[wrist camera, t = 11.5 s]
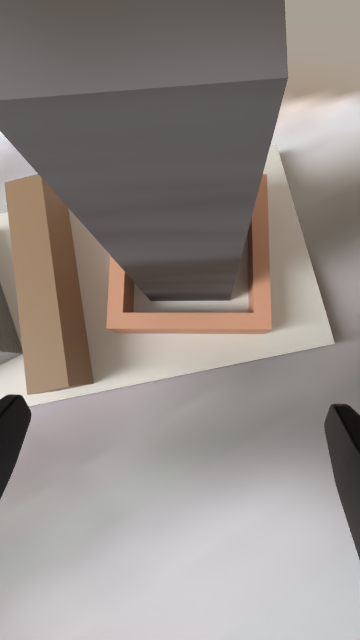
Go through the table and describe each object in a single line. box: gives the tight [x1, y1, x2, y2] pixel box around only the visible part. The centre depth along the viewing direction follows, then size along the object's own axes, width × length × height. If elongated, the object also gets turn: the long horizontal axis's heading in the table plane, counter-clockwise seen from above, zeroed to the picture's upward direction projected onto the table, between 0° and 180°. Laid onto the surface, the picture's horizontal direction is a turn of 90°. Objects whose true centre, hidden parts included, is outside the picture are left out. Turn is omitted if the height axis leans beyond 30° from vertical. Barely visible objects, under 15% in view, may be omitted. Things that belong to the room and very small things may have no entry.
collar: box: [106, 174, 272, 334], centre depth 16 cm, size 8×8×2 cm
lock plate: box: [0, 145, 335, 406], centre depth 17 cm, size 28×12×4 cm, turn 102°
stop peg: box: [0, 0, 288, 301], centre depth 11 cm, size 4×4×13 cm
